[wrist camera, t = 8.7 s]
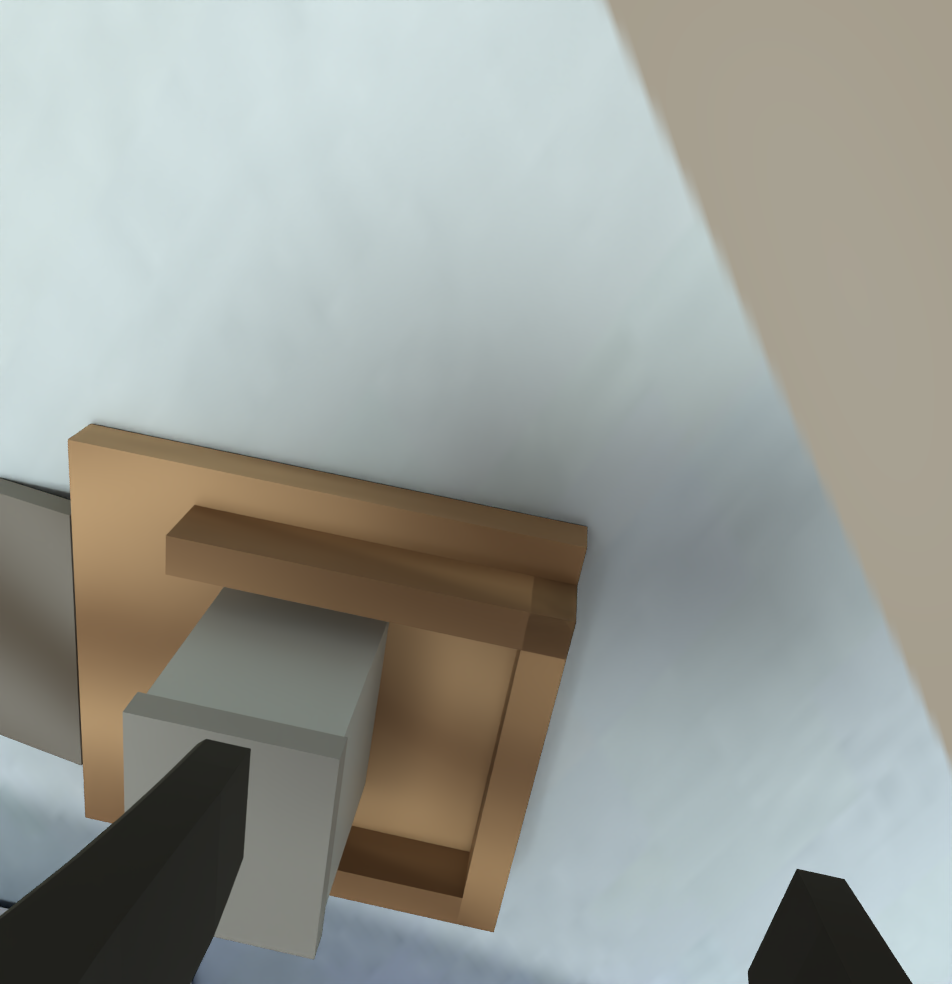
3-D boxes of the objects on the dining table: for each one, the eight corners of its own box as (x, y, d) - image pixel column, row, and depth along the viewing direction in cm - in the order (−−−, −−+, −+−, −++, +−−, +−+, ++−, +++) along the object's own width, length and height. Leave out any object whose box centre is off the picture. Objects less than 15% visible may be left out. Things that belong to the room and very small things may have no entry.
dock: (498, 863, 26) (487, 956, 23) (-77, 735, 27) (-155, 811, 24) (587, 515, 21) (586, 583, 18) (-134, 366, 21) (-242, 408, 19)
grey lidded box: (367, 789, 23) (313, 959, 19) (215, 756, 23) (126, 916, 19) (394, 611, 21) (339, 759, 16) (223, 575, 21) (122, 712, 16)
